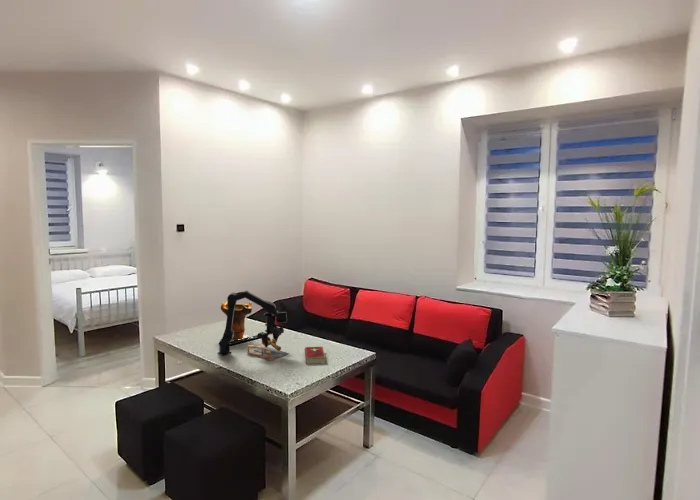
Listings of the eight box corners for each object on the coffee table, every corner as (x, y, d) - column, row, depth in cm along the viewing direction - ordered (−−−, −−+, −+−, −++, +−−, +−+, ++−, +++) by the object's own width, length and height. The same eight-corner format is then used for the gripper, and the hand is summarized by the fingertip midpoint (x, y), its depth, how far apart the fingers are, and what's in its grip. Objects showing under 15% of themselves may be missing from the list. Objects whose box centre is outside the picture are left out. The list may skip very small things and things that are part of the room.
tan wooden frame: (247, 353, 264) (247, 345, 263) (252, 351, 267) (252, 343, 267) (269, 360, 252) (269, 352, 251) (274, 358, 255) (274, 350, 255)
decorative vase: (250, 342, 285) (247, 303, 283) (217, 343, 286) (215, 304, 283) (257, 333, 306) (255, 297, 304) (227, 334, 306) (224, 298, 304)
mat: (253, 350, 269) (253, 350, 269) (265, 347, 277) (265, 346, 277) (277, 358, 256) (277, 357, 256) (288, 353, 265) (288, 353, 265)
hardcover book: (305, 364, 248) (305, 357, 248) (304, 352, 269) (304, 346, 269) (325, 363, 250) (325, 357, 250) (322, 352, 271) (322, 346, 270)
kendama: (284, 351, 263) (269, 341, 275) (284, 342, 261) (268, 332, 273) (274, 356, 258) (259, 345, 270) (274, 347, 256) (258, 337, 268)
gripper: (269, 327, 253) (268, 352, 254) (289, 321, 268) (289, 344, 269) (256, 324, 259) (256, 348, 261) (277, 318, 274) (277, 341, 276)
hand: (270, 345), depth 266 cm, fingers closed on kendama, 7 cm apart
